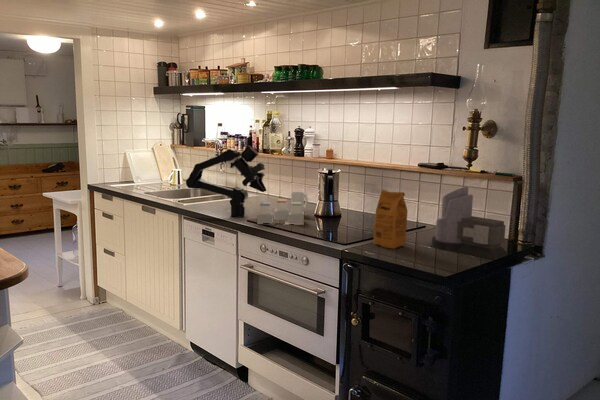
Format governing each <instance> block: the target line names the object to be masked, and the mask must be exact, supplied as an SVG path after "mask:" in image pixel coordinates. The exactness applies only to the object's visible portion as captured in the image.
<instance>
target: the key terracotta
mask: <svg viewBox="0 0 600 400" xmlns="http://www.w3.org/2000/svg"><path fill="white" fill-rule="evenodd" d="M287 206H288V202H287V199H279V198H278V199H277V201H276V209H277V211H287V209H288V208H287Z"/></svg>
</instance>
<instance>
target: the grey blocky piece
mask: <svg viewBox="0 0 600 400" xmlns="http://www.w3.org/2000/svg"><path fill="white" fill-rule="evenodd" d="M473 197H474V195H473V194H469V187H468V186H464V187H460V188H457V189H455V190H453V191H450V192H449V193H447V194H445V195H444V196H442V202H441V216H440V217H439V218H437V219H436V221H435V222H436V224H435V235H434V236H432V238H431V242H429V243H428V244H427V246H428V247H432V248H435V249H438V250H440V251H441V250H442V251H447V252H457V253H462V254H465V255H469V256H470V255H471V256H475V257H481V258H485V259H490V260H496V259H499V258H503V257H507V256H509V253H508V252H507V251H506V250H505V248H503V247H502V243H505V237H506V224H505V221H504V220H498V219H493V218H486V217H479V216H473V201H474V198H473Z"/></svg>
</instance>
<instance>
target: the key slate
mask: <svg viewBox="0 0 600 400" xmlns="http://www.w3.org/2000/svg"><path fill="white" fill-rule="evenodd" d="M259 210H260V211H259V212H260V214H266V215H270V212H271V202H269V201H268V202H267V201H266V202H265V201H263V202H262V201H260V204H259Z"/></svg>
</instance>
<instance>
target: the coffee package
mask: <svg viewBox="0 0 600 400" xmlns="http://www.w3.org/2000/svg"><path fill="white" fill-rule="evenodd" d="M404 197H405V192H403V191H402V192H401V191H389V190H386V189H384V188H383V189H381V192H380V195H379V198H378V202H377V206H376V209H375V216H374V223H373V245H374V246H380V247H382V248H386V249H397V248H399V247H403V246H405V245H406V244H407V243H406V241H407V224H408V213H409V212H408V207H407V205H406V201H405V198H404Z"/></svg>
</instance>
